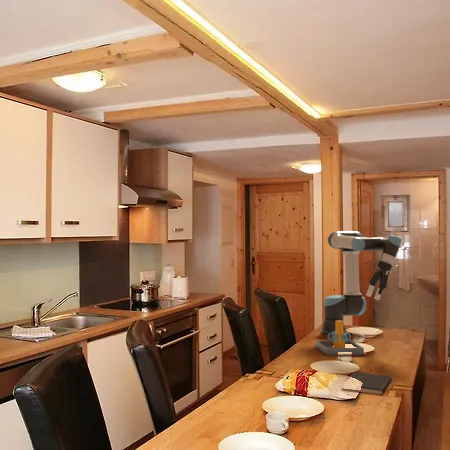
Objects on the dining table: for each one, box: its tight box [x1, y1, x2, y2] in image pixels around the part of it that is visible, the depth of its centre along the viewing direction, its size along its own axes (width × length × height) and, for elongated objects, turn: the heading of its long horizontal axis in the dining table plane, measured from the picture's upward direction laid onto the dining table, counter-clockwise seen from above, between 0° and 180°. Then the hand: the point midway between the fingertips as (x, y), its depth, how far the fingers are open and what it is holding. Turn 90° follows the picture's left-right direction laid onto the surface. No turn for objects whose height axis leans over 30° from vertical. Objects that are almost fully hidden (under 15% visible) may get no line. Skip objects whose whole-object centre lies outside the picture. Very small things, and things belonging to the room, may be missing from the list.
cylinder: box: [327, 320, 352, 348], centre depth 280 cm, size 12×10×15 cm
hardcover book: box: [349, 371, 393, 395], centre depth 216 cm, size 16×23×2 cm
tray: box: [315, 339, 365, 356], centre depth 280 cm, size 20×20×4 cm
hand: (372, 297), depth 292 cm, fingers open, 13 cm apart
